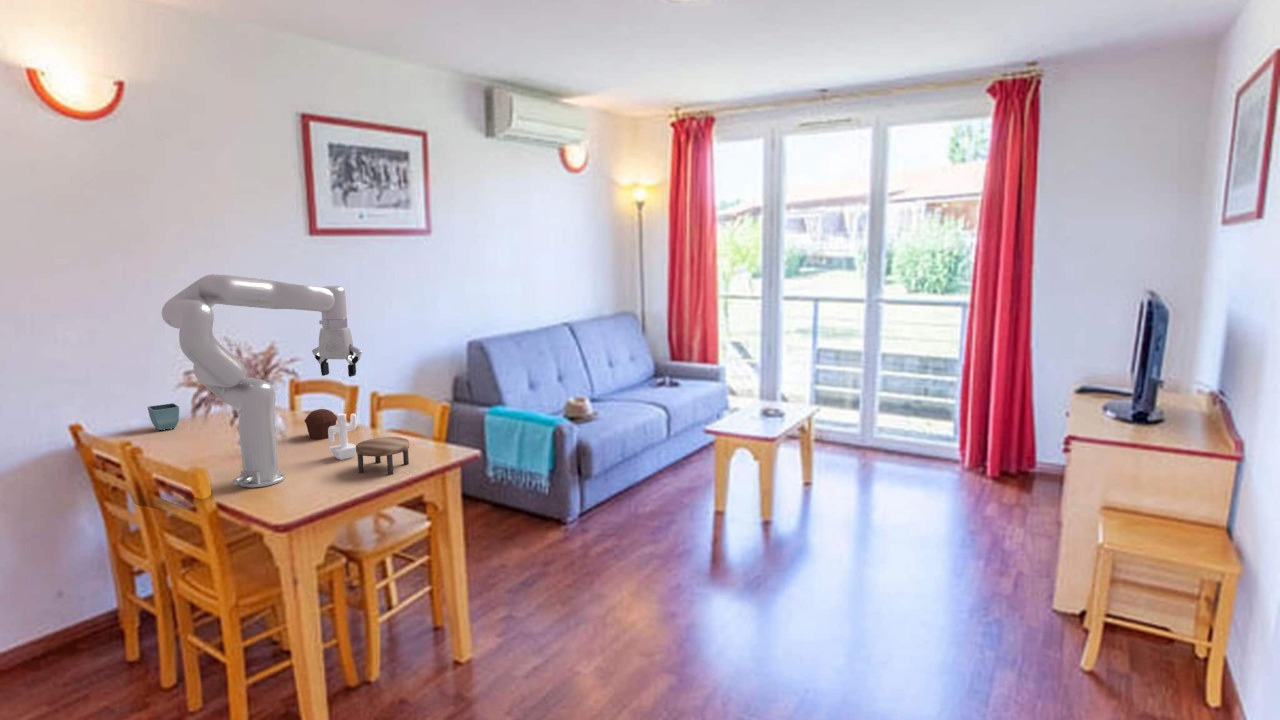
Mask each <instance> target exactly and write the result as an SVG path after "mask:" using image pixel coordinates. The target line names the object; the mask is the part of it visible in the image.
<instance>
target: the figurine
mask: <svg viewBox="0 0 1280 720" xmlns="http://www.w3.org/2000/svg"><path fill="white" fill-rule="evenodd" d="M336 417H337V420H336V421H337V424H336V425H334V426H330V427H329V428H328V437H329V438H328V442H329V443H334V442H335V439H336V438H335V436H336V434H338V442H339V444H337V445H336V444H335V445H331V446H328V448H329V450H330V452H331V453H332V455H333V456H334V458H335V459H338V460H340V461H343V460H348V459H351V458H353V459H354V458H355V456H356V454H357V453H356V445H357V444H353V443H351V442H348V441H349V440H348V432H350V431H355V430H356V429H357V415H356V413H351V414H350V416H349V417H350V421H349V422H348V420H347V413H340V414H336Z"/></svg>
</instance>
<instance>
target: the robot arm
mask: <svg viewBox="0 0 1280 720" xmlns="http://www.w3.org/2000/svg"><path fill="white" fill-rule="evenodd" d="M214 305H225V306H234V307H245V308H247V307H248V308H258V309H267V310H268V309H269V310H298V311H300V310H301V311H307V312H308V311H309V312H319V313H320V312H321V313H320V314H321V319H320V320H319V321H318V323H319V325H321V328H320V330H319V335H318V346H317V347H315V348H314V349H312V350H311V352H312V354H313V356H314V359H315V360H316V361H318V364H320V373H321V377H322V376H323V377H324V376H328V375H329V374H330V368H329V367H330V365H329V362H328V360H345V361H346V362H348V364H347V370H348V371H347V372H348V377H349V378H350V377H354V376H356V374H357V363H358V362H359V360H360V359H361V356H362V354H363V351H362V350H361V349H359V348H357V347H355V346H354V342H353V336H352V333H351V329H350V327H349V326H348V314H347V300H346V290H345V288H344V287H343V286H339V285H327V286H322V287H319V286H310V285H305V284H303V285H302V284H301V285H300V284H295V283H287V282H282V281H278V280H270V279H263V278H253V277H247V276H246V277H245V276H238V275H237V276H236V275H229V274H227V275H226V274H214V273H213V274H212V273H211V274H207V275H204V276H202V277H200V278H199V279H197V280H195V281H194V282H193V283H191V284H190V285H188V286H187V287H185V288H184V289H182V290H181V291H179V292H178V293H177V294H175V295H174V296H172V297H171V298H170V299H168V300H167V301H166V302H165V303H164V305H163V307H162V308H161V309H162V310H161V317H162V319H163V321H164V323H165V324H167V325H168V326H170V327H172V328H175V329H177V330H178V329H179V331H178V340H179V341H178V342H179V347H180V350H181V352H182V353H183V354H184V356H185V357H186V358H187V359H188V360H189V361H190V362H191V363H192V364H193V368H192V369H193V374H194V376H195V378H196V380H198V382H199V383H200V384H201V385H203V387H205V388H206V389H207V390H208V391H210V392H211V393H212V394H213V395H215V396H216V397H218V398H219V399H220V400H222V402H224V403H225V404H227V405H229V406H231V407H235V408H239V409H240V414H239V418H238V434H239V435H238V436H239V443H240V453H241V454H240V456H241V464H242V465H241V466H242V470H240V475H239V476H237V477H234V478H233V479H232V480H231V481H232V484H233V485H235V486H236V485H237V486H240V487H242V488H263V487H268V486H273V485H275V484H279V483H281V482H282V481H284V479H285V478H286V475H285V474H286V473H285V472H283V471H280V470H279V458H278V457H279V456H278V446H277V434H276V427H275V424H276V423H275V422H276V421H275V406H276V392H275V389H274V387H273V386H272V385H271V384H270V383H269V382H268V381H266V380H264V379H261V378H255V377H250V376H247V370H246V367H245V365H244V364H243V362H242V361H241V360H239V359H238V358H237V357H236V356H234V354H232V353H231V352H230V351H229V350H228V349H226V347H224V346H223V345H222V344H221V343H220V342H219V341H218V339H217V338H216V337H215V336H214V332H213V328H214V327H213V326H214V321H215V315H214V310H213V309H212V307H213V306H214ZM354 354H355V356H354Z"/></svg>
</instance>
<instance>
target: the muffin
mask: <svg viewBox="0 0 1280 720" xmlns="http://www.w3.org/2000/svg"><path fill="white" fill-rule="evenodd" d="M305 417H306V418H304V420H303V421H304V423H305V425H306V429H307V433H308V437H309V439H310V440H315V441H316V440H327V439H329V437H328V428H329V427H330V426H334V425H337V421H338V420H337V414H335V413H334V412H333V411H332V410H331V409H326V408H319V409H315V410H313V411H311V412H310V413H308V414H307V415H306V416H305Z"/></svg>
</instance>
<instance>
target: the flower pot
mask: <svg viewBox="0 0 1280 720" xmlns="http://www.w3.org/2000/svg"><path fill="white" fill-rule="evenodd" d="M147 412H148V416H149V418H150V421H151V423H152V425H153V426H154V428H155V429H156V428H157V429H156V430H158V431H159V430H164V429H170V430H172V429H171V428H175V427H177V426H178V423H179V421H180V405H177V404H176V403H174V402H172V403H165V404H157V405H150V406H147ZM175 429H176V428H175ZM164 431H165V430H164Z"/></svg>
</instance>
